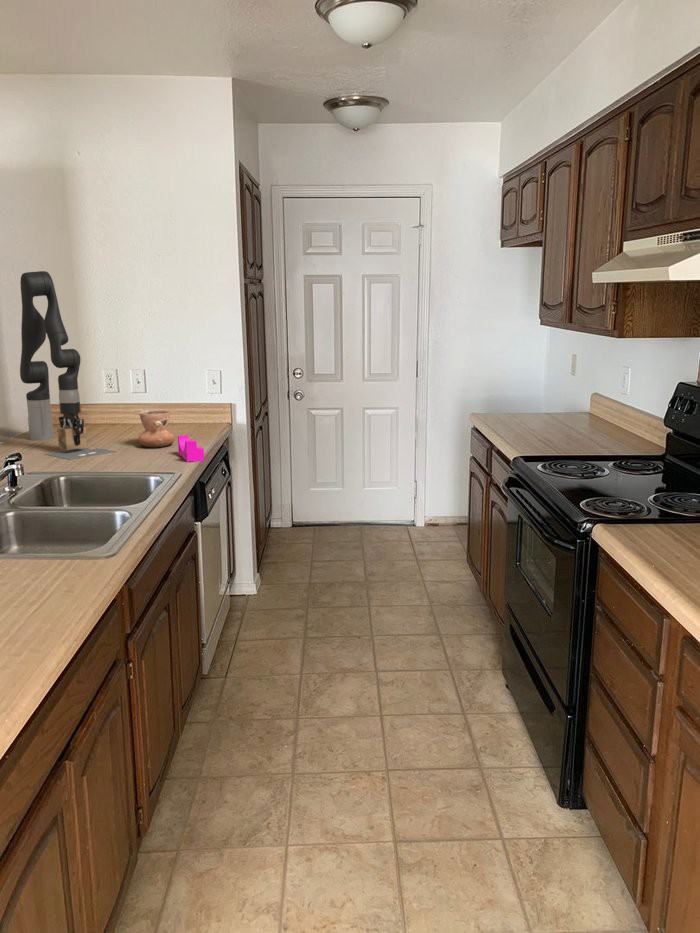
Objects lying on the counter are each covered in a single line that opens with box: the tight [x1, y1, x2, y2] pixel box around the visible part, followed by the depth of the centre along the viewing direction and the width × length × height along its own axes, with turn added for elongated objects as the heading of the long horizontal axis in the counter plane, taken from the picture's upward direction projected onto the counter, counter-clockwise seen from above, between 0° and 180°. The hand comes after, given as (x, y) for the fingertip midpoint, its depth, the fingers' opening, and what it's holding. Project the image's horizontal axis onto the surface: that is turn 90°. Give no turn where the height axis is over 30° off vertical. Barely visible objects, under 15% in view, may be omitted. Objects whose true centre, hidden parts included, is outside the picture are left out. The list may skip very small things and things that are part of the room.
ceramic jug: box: [137, 409, 176, 449], centre depth 302 cm, size 18×14×14 cm
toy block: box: [177, 434, 205, 463], centre depth 280 cm, size 15×6×8 cm, turn 25°
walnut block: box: [56, 425, 89, 451], centre depth 291 cm, size 6×9×8 cm, turn 142°
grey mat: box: [44, 447, 116, 461], centre depth 290 cm, size 17×20×1 cm
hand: (73, 443), depth 292 cm, fingers closed on walnut block, 5 cm apart
